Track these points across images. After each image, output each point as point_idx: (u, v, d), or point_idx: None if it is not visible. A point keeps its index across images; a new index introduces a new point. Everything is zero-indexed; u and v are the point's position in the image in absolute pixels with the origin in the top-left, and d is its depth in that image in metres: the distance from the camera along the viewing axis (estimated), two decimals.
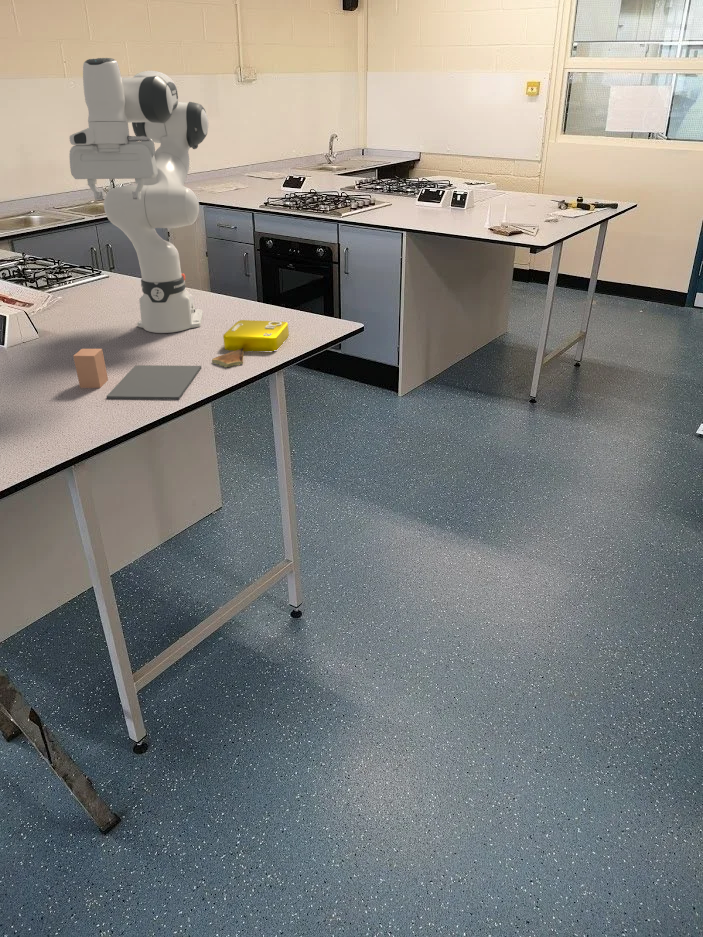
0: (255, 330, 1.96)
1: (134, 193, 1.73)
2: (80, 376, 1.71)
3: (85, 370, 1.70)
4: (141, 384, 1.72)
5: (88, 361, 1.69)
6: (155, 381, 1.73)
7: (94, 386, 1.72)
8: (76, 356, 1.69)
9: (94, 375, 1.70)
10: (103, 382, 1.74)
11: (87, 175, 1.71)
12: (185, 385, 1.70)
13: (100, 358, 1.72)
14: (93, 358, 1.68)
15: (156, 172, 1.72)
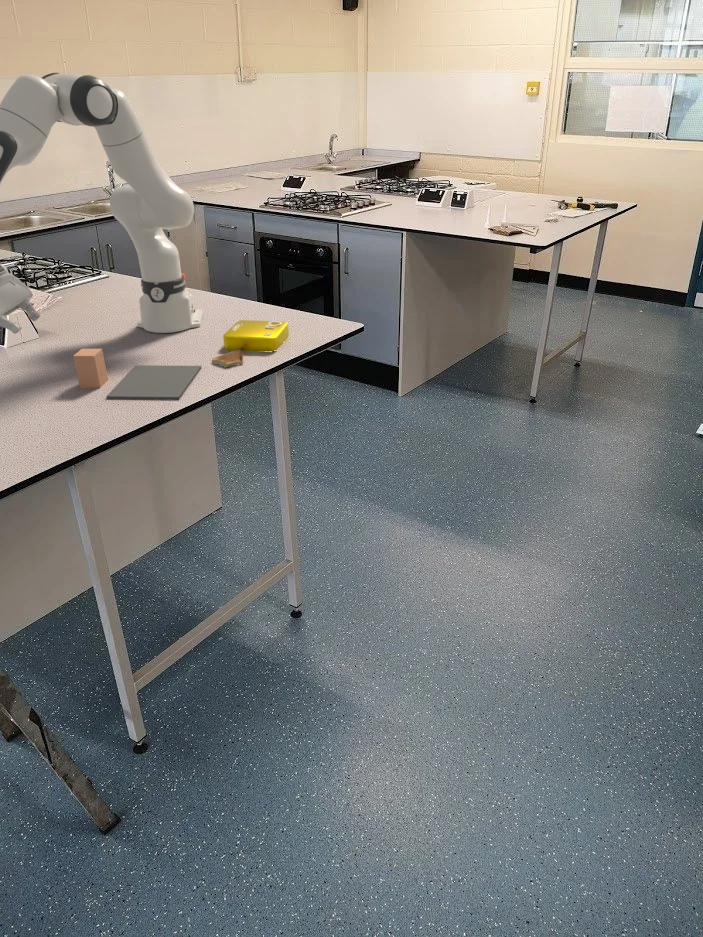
0: (255, 330, 1.96)
1: None
2: (80, 376, 1.71)
3: (85, 370, 1.70)
4: (141, 384, 1.72)
5: (88, 361, 1.69)
6: (155, 381, 1.73)
7: (94, 386, 1.72)
8: (76, 356, 1.69)
9: (94, 375, 1.70)
10: (103, 382, 1.74)
11: None
12: (185, 385, 1.70)
13: (100, 358, 1.72)
14: (93, 358, 1.68)
15: None
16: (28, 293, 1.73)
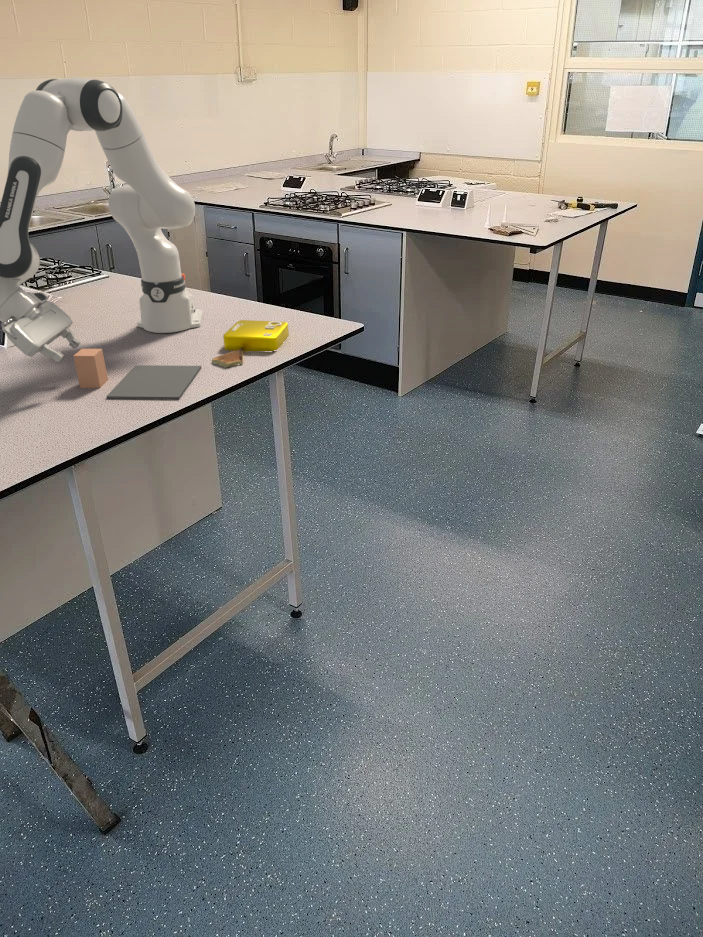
0: (255, 330, 1.96)
1: None
2: (80, 376, 1.71)
3: (85, 370, 1.70)
4: (141, 384, 1.72)
5: (88, 361, 1.69)
6: (155, 381, 1.73)
7: (94, 386, 1.72)
8: (76, 356, 1.69)
9: (94, 375, 1.70)
10: (103, 382, 1.74)
11: None
12: (185, 385, 1.70)
13: (100, 358, 1.72)
14: (93, 358, 1.68)
15: (30, 348, 1.60)
16: (68, 321, 1.75)
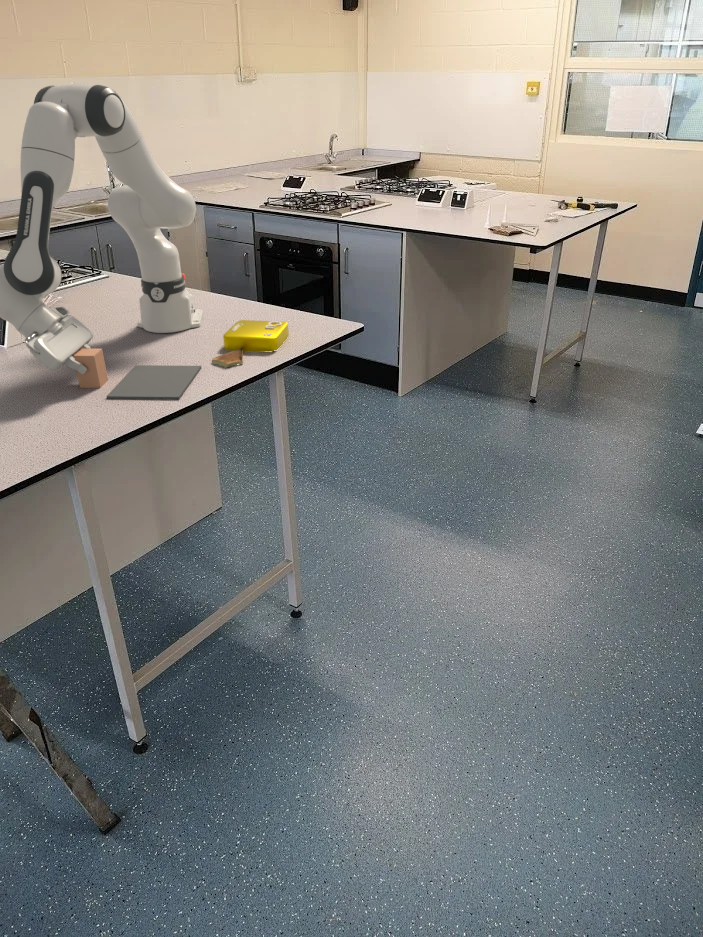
0: (255, 330, 1.96)
1: None
2: (80, 376, 1.71)
3: None
4: (141, 384, 1.72)
5: (88, 361, 1.69)
6: (155, 381, 1.73)
7: (94, 386, 1.72)
8: (76, 356, 1.69)
9: (94, 375, 1.70)
10: (103, 382, 1.74)
11: None
12: (185, 385, 1.70)
13: (100, 358, 1.72)
14: (93, 358, 1.68)
15: (53, 363, 1.61)
16: (89, 334, 1.77)
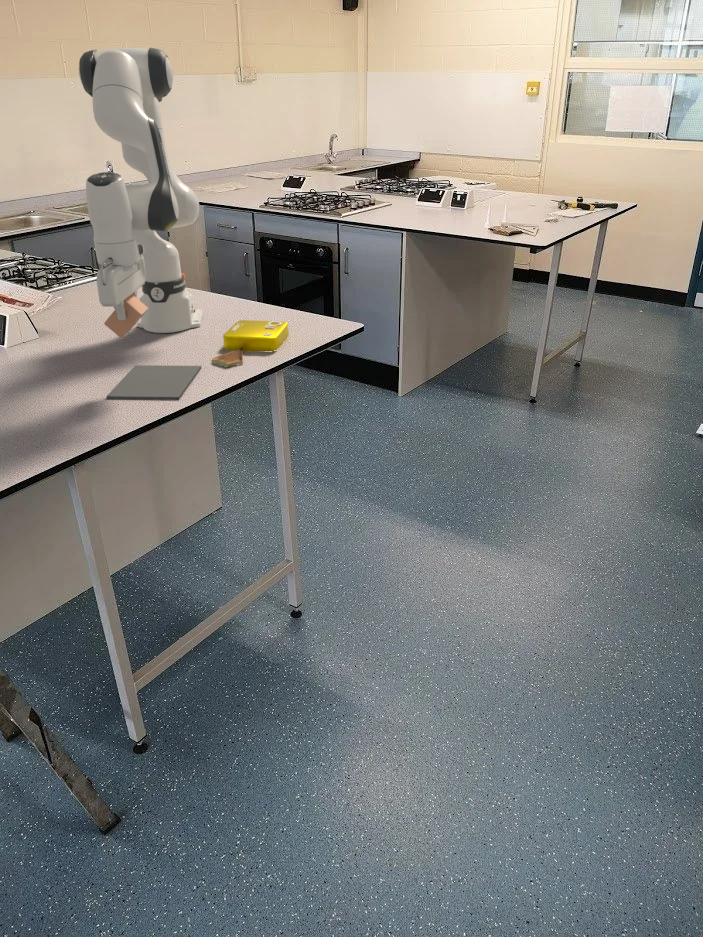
0: (255, 330, 1.96)
1: None
2: (113, 317, 1.63)
3: None
4: (141, 384, 1.72)
5: (132, 313, 1.63)
6: (155, 381, 1.73)
7: (117, 333, 1.65)
8: (125, 301, 1.61)
9: (126, 327, 1.64)
10: None
11: None
12: (185, 385, 1.70)
13: None
14: (139, 315, 1.63)
15: (109, 301, 1.54)
16: (143, 281, 1.70)
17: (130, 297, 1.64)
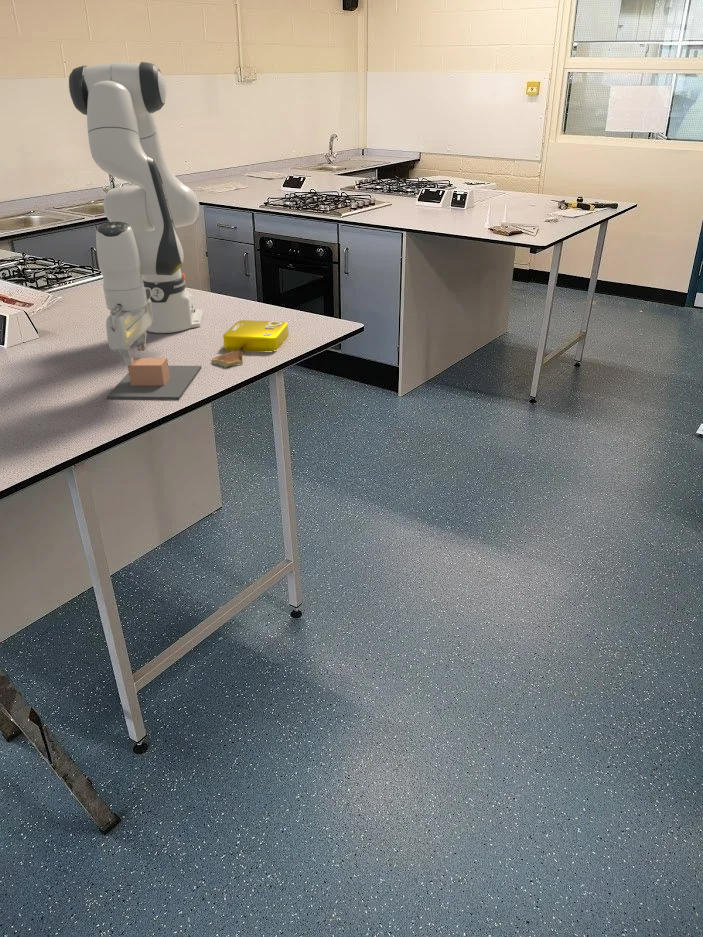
0: (255, 330, 1.96)
1: None
2: (140, 368, 1.69)
3: (147, 374, 1.70)
4: None
5: (157, 379, 1.70)
6: None
7: (131, 379, 1.71)
8: (160, 368, 1.69)
9: (143, 382, 1.71)
10: None
11: None
12: (185, 385, 1.70)
13: None
14: (161, 384, 1.71)
15: (118, 347, 1.59)
16: (150, 323, 1.74)
17: (165, 363, 1.71)
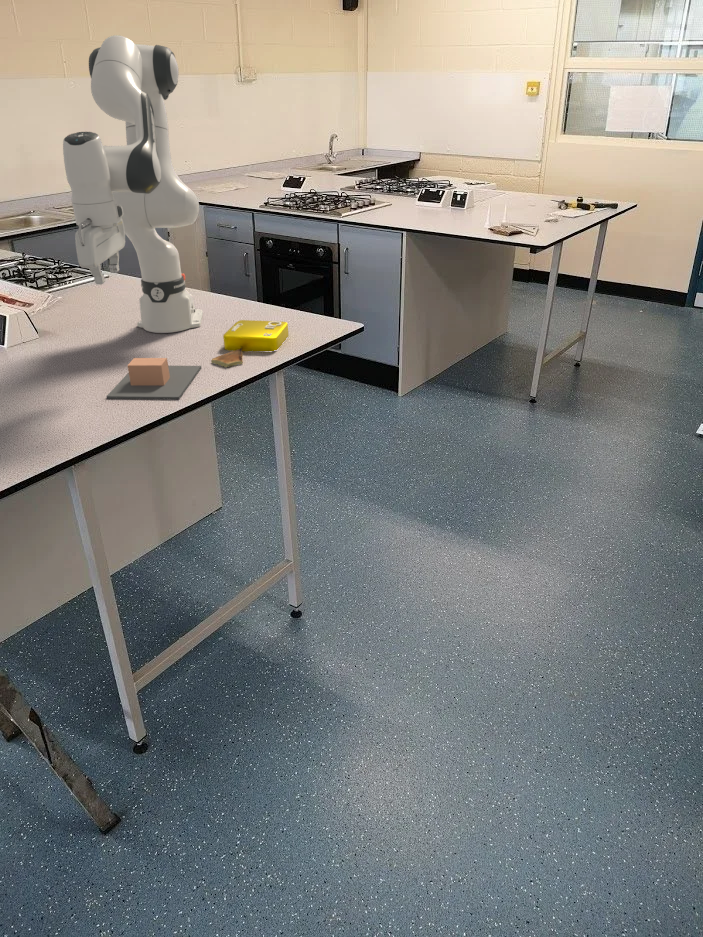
0: (255, 330, 1.96)
1: None
2: (140, 368, 1.69)
3: (147, 374, 1.70)
4: None
5: (157, 379, 1.70)
6: None
7: (131, 379, 1.71)
8: (160, 368, 1.69)
9: (143, 382, 1.71)
10: None
11: None
12: (185, 385, 1.70)
13: None
14: (161, 384, 1.71)
15: (88, 262, 1.53)
16: (122, 245, 1.69)
17: (165, 363, 1.71)
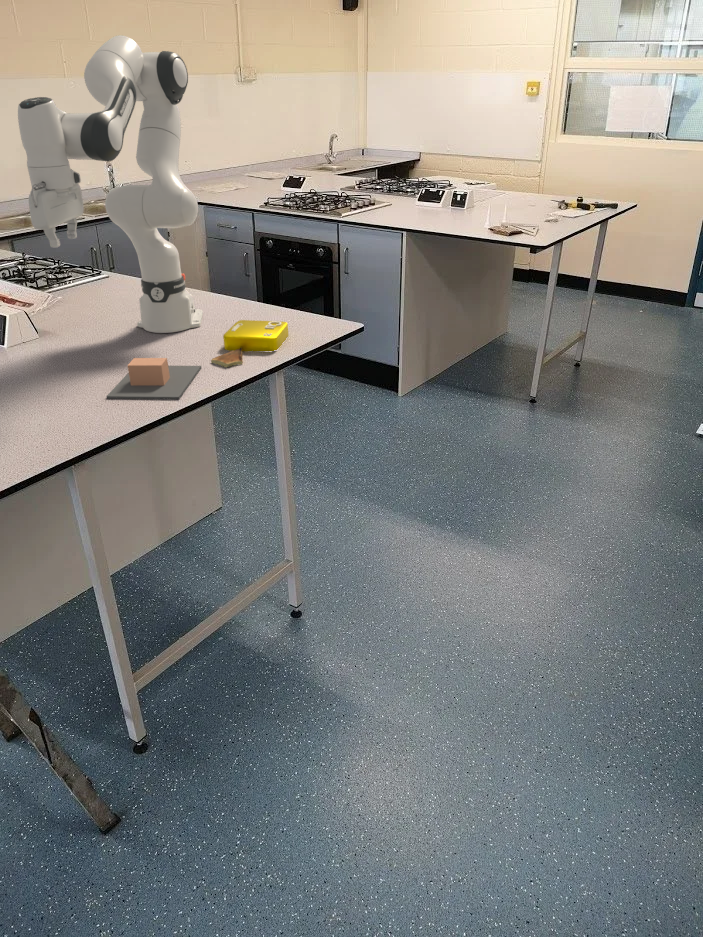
0: (255, 330, 1.96)
1: None
2: (140, 368, 1.69)
3: (147, 374, 1.70)
4: None
5: (157, 379, 1.70)
6: None
7: (131, 379, 1.71)
8: (160, 368, 1.69)
9: (143, 382, 1.71)
10: None
11: None
12: (185, 385, 1.70)
13: None
14: (161, 384, 1.71)
15: (41, 224, 1.57)
16: (81, 212, 1.73)
17: (165, 363, 1.71)
